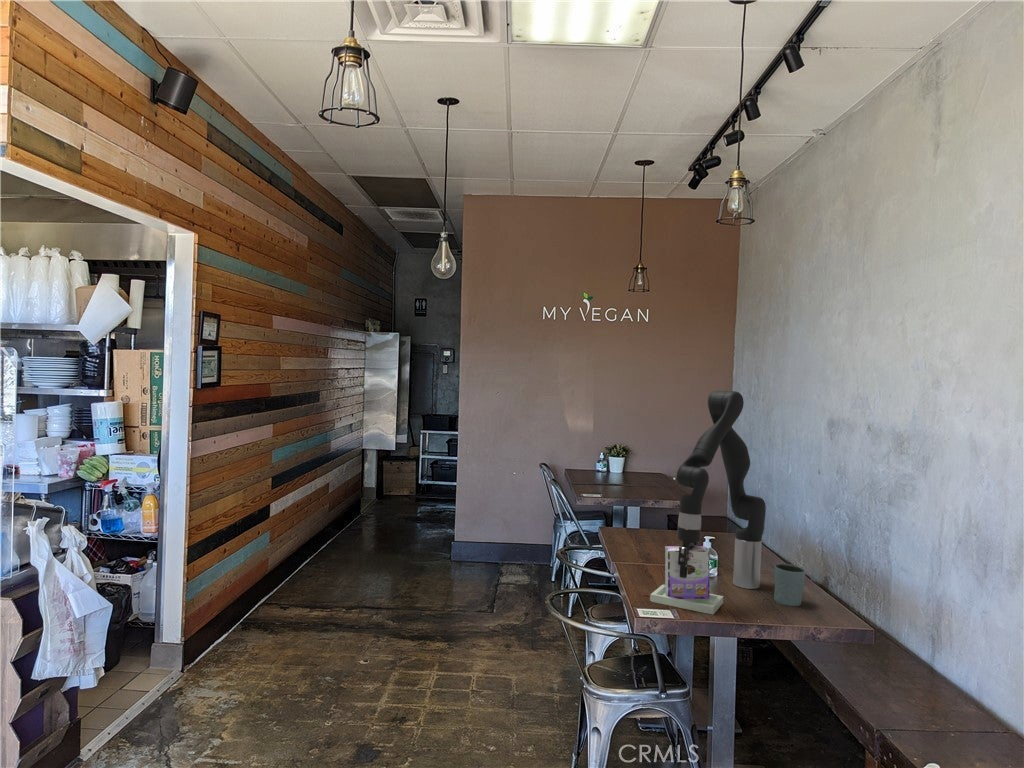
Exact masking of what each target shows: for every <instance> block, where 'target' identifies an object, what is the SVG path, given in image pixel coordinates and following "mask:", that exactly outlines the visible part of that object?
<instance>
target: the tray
mask: <svg viewBox="0 0 1024 768" xmlns="http://www.w3.org/2000/svg"><path fill="white" fill-rule="evenodd" d="M650 601H651V602H650ZM649 602H650V603H656V604H660V605H665V606H669V607H675V608H679V609H684V610H689V611H694V612H699V613H705V614H708V615H715V613H717V611H718V609H720V608H721V606H722V605H723V604H724V596H723V595H718V594H714V593H709V599H677V598H673V597H668V596H666V594H665V584H661V585H660V586H659V587H658V588H657V589H655V590H654V591H652V593H650V597H649Z"/></svg>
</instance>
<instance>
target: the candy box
mask: <svg viewBox="0 0 1024 768" xmlns="http://www.w3.org/2000/svg"><path fill="white" fill-rule="evenodd" d="M681 546H682V545H681ZM681 546H679V545H677V546H676V545H675V546H673V545H672V546H671V545H670V546H667V545H666V546H664V547H665V548H664V551H665V553H664V556H665V557H664V564H665V565H664V567H665V568H664V585H665V594H666V596H668V597H673V598H677V599H709V594H710V550H709V549H708V547H706V546H705V545H702V546H700V545H699V546H698V545H697V546H695V548H693V550H692V551H690V550H689V553H690V552H691V559H690V561H688V566H687V577H686V578H681V577H680V565H678V557H679V547H681ZM688 556H689V554H687V557H688ZM682 562H684V559H682Z"/></svg>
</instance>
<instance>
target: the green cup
mask: <svg viewBox="0 0 1024 768" xmlns="http://www.w3.org/2000/svg"><path fill="white" fill-rule="evenodd" d="M806 573H807V570H806V569H805V568H804V567H802V566H799V565H796V564H790V563H776V564H774V573H773V574H774V577H773V578H774V592H773V594H774V595H773V599H774V602H776V603H778V604H779V605H783V606H787V605H788V607H798V606H801V605H802V600H803V599H802V598H803V590H804V585H805V579H806Z"/></svg>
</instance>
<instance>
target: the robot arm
mask: <svg viewBox="0 0 1024 768" xmlns="http://www.w3.org/2000/svg"><path fill="white" fill-rule="evenodd" d="M744 404H745V403H744V397H743V395H742V394H741V393H740V392H739V391H736V390H713V391H711V392H710V393H709V395H708V398H707V406H708V412H709V415H710V418H711V420H712V423H713V424H712V426H711V427H710V428H708V429H707V430H705V432H704V433H703V434H702V435H701V436H699V438H698V440H697V441H696V444H695V445H694V448H693V450H692V452H691V454H689V456H688V457H687V458H686V459H685V460H684V461H683V462H682V464H681V465H680V466H679V468H678V469H677V470H676V471H677V472H676V476H675V477H676V482H677V484H678V485H680V486H681V487H685V488H691V489H692V491H691V492H690V493H686V494H683V495H681V497H680V499H679V501H680V502H679V513H678V519H677V521H678V522H677V532H676V533H677V536H676V538H677V540H678V541H680V542H682V545H681V547H679V557H678V565H680V577H681V578H686V577H687V566H688V561H690V559H691V552H690V553H689V550H690V551H692V550H693V548H695V546H698V543H699V542H701V535H702V534H701V532H702V505H703V500H704V497H705V493H706V491H707V487H708V485H709V481H710V476H709V473H708V471H707V470H706V469H705V467H708V466H710V465H711V464H712V462H713V460H714V457H715V456H716V453H717V451H718V449H719V448H720V453H721V458H722V463H723V465H724V469H725V474H726V477H727V484H728V489H729V497H730V504H731V511H732V513H733V515H734V517H735V518H738V519H739V520H742V521H743V520H744V521H748V523H747V526H746V527H745V528H744V527H743V528H738V529H736V530H735V537H734V557H733V558H734V559H733V573H732V574H733V578H732V579H733V580H732V584H733V585H734V586H736V587H738V588H741V589H747V590H748V589H749V590H750V589H751V590H755V589H757V590H758V589H759V588H760V582H761V581H760V580H761V563H762V562H761V560H762V541H763V540H762V539H763V535H764V532H765V531H764V530H765V523H766V513H767V512H766V511H767V506H766V502H765V500H764V498H762V497H759V496H755V495H751V494H750V495H749V494H747V493H746V491H745V488H744V487H745V486H744V482H745V478H746V476H747V474H748V473H749V470H750V466H751V459H750V454H749V450H748V449H749V448H748V446H747V444H746V443H745V441H744V440H743V439H742V437H741V436H740V435H739V434H738V432H736V430H734V428H733V425H734V424H735V422H736V421H737V420H738V418H739V417H740V415H741V413H742V412H743V409H744ZM687 554H689V556H688V557H687ZM682 559H684V562H682Z"/></svg>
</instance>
